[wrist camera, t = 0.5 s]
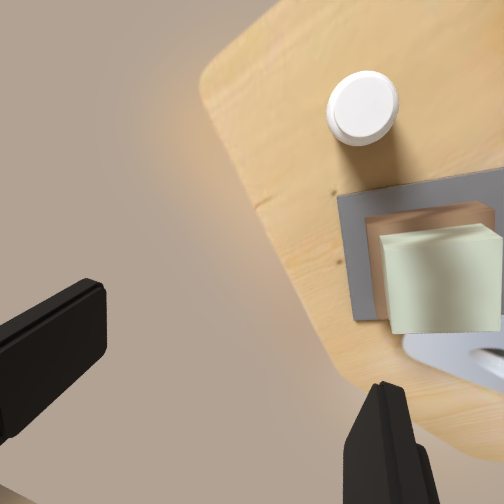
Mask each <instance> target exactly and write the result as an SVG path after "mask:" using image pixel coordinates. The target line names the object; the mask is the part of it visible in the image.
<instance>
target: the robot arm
mask: <svg viewBox="0 0 504 504" xmlns="http://www.w3.org/2000/svg"><path fill="white" fill-rule="evenodd" d="M106 304H107V303H106V290H105V289H104V286H103V284H102V283H100V282H97V281H94V280H91V279H88V278H85V279H82V280H80V281H78V282H77V283H75V284H73V285H71V286H70V287H68V288H66V289H64V290H63V291H61V292H59V293H57V294H55V295H54V296H52V297H50V298H48V299H46V300H45V301H43V302H41V303H39V304H38V305H36V306H34V307H32V308H31V309H29V310H27V311H25V312H24V313H22V314H20V315H18V316H16V317H14V318H13V319H11V320H9V321H7V322H6V323H4V324H2V325H0V445H2V444H3V443H4V442H5V441H6V440H7V439H8V438H13V437H14V436H16V435H17V434H19V433H20V432H21V431H22V430H23V429H24V428H25V427H26V426H27V425H28V424H30V423H31V422H32V421H33V420H34V419H35V418H36V417H37V416H38V415H39V414H40V413H41V412H43V410H45V409H46V408H47V407H48V406H49V405H50V404H51V403H52V402H53V401H54V400H55V399H57V398H58V397H59V396H60V395H61V394H62V393H63V392H64V391H65V390H66V389H67V388H68V387H70V386H71V385H72V384H73V383H74V382H75V381H76V380H77V379H78V378H79V377H80V376H82V375H83V374H84V373H85V372H86V371H87V370H88V369H89V368H90V367H91V366H92V365H93V364H95V362H97V361H98V360H99V359H100V358H101V357H102V356H103V355H104V353H105V351H106V349H107V308H106V307H107V306H106ZM0 504H37V503H35V502H33V501H31V500H29V499H27V498H26V497H24V496H22V495H20V494H18V493H16V492H14V491H12V490H10V489H8V488H6V487H4V486H2V485H0ZM343 504H440V502H439V498H438V494H437V490H436V486H435V482H434V478H433V474H432V470H431V466H430V462H429V458H428V455H427V452H426V449H425V448H424V447H423V446H422V445H420V444H417V443H416V442H415V437H414V433H413V428H412V424H411V419H410V415H409V410H408V406H407V401H406V397H405V392H404V389H403V388H402V387H399V386H396V385H393V384H390V383H387V382H385V381H382V382H380V384H379V385H378V384H373V385H372V387H371V389H370V391H369V393H368V396H367V398H366V400H365V402H364V404H363V406H362V408H361V410H360V412H359V414H358V416H357V418H356V420H355V422H354V424H353V426H352V429H351V431H350V433H349V435H348V437H347V439H346V441H345V445H344V452H343Z"/></svg>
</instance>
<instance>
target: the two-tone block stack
mask: <svg viewBox="0 0 504 504" xmlns="http://www.w3.org/2000/svg"><path fill="white" fill-rule="evenodd" d="M365 226H366V235H367V244H368V252H369V261H370V270H371V279H372V288H373V297H374V304H375V309H376V315H377V320H384V319H389V321H390V326H391V330H392V334H415V333H416V334H418V333H455V332H456V333H457V332H497V331H501V327H500V326H501V293H502V255H503V238H502V237H501V236H499V235H498V234H496V233H495V210H494V209H492V208H490V207H488V206H487V205H485V204H483V203H481V202H479V201H477V200H476V201H469V202H462V203H455V204H449V205H442V206H435V207H428V208H421V209H414V210H407V211H400V212H393V213H386V214H379V215H372V216H366V217H365Z"/></svg>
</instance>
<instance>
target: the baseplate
mask: <svg viewBox="0 0 504 504" xmlns="http://www.w3.org/2000/svg"><path fill="white" fill-rule="evenodd" d="M476 200H477V201H479V202H481V203H483V204H485V205H487V206H488V207H490V208H492V209H494V210H495V233H496V234H498V235H499V236H501V237H502V238H503V255H502V293H501V315H502V314H504V167H502V168H496V169H490V170H484V171H479V172H473V173H467V174H461V175H455V176H449V177H443V178H438V179H432V180H426V181H420V182H414V183H408V184H402V185H397V186H391V187H385V188H379V189H373V190H367V191H361V192H355V193H350V194H344V195H338V196H337V203H338V210H339V217H340V224H341V232H342V239H343V246H344V253H345V261H346V268H347V275H348V282H349V290H350V297H351V304H352V311H353V319H354V320H377V315H376V309H375V304H374V297H373V288H372V279H371V270H370V261H369V252H368V244H367V235H366V226H365V217H366V216H372V215H379V214H386V213H393V212H400V211H407V210H414V209H421V208H428V207H435V206H442V205H449V204H455V203H462V202H469V201H476Z"/></svg>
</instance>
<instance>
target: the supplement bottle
mask: <svg viewBox="0 0 504 504" xmlns="http://www.w3.org/2000/svg"><path fill="white" fill-rule="evenodd" d="M398 108H399V98H398V93H397V90H396V88H395V86H394V84H393V83H392V82H391V81H390V80H389V79H388V78H387V77H386V76H384V75H383V74H381V73H378V72H375V71H361V72H357V73H354V74H352V75H350V76H348V77H346V78H345V79H344V80H342V81H341V82H340V83H339V84H338V85H337V87H336V88H335V89H334V91H333V92H332V94H331V96H330V98H329V101H328V105H327V111H326V118H327V123H328V126H329V129H330V131H331V133H332V134H333V135H334V136H335V137H336V138H337V139H338V140H339V141H341V142H342V143H344V144H347V145H350V146H365V145H368V144H371V143H374V142H376V141H377V140H379V139H380V138H382V137H383V136H384V135H385V134H386V133H387V132H388V131H389V130H390V128H391V127H392V125H393V124H394V122H395V119H396V117H397V113H398Z"/></svg>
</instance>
